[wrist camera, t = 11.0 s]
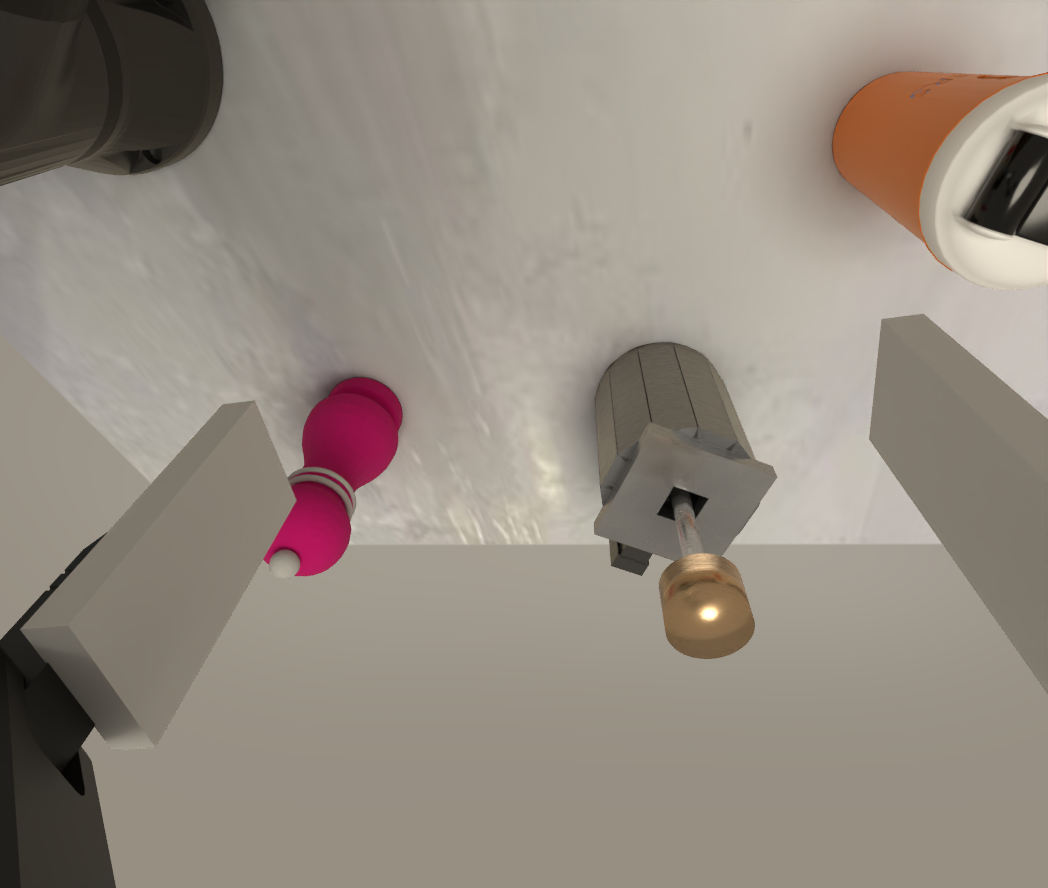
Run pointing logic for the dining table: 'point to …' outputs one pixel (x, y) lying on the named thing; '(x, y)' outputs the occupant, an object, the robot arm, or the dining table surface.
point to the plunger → (702, 594)
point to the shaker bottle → (957, 168)
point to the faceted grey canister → (671, 455)
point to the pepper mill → (335, 474)
